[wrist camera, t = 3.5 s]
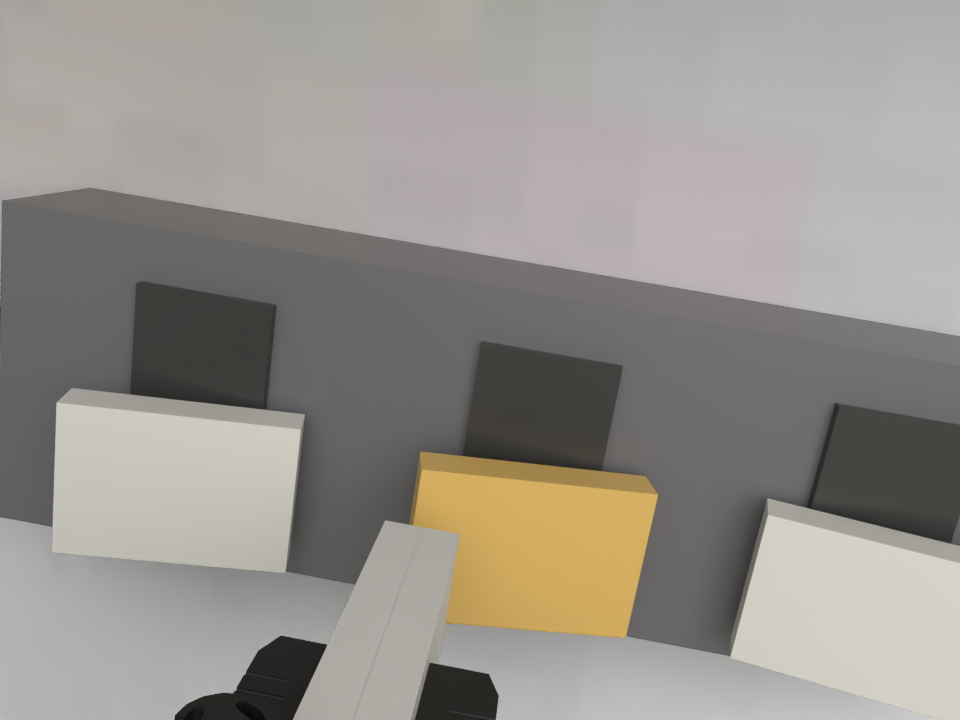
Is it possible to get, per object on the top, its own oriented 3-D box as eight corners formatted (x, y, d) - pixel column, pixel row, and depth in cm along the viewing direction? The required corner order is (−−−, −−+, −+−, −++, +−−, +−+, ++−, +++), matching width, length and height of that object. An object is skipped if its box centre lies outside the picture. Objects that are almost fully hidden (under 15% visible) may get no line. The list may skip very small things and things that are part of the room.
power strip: (-114, 423, 27) (-236, 478, 23) (-120, 152, 25) (-256, 158, 21) (968, 624, 26) (1046, 722, 21) (1061, 354, 23) (1167, 404, 19)
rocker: (731, 636, 22) (730, 658, 21) (767, 498, 21) (768, 514, 20) (965, 703, 20) (975, 729, 19) (1015, 560, 19) (1028, 580, 18)
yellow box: (398, 594, 21) (399, 619, 20) (420, 451, 20) (421, 469, 19) (615, 614, 22) (625, 638, 21) (645, 476, 21) (658, 494, 20)
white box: (66, 532, 21) (51, 552, 20) (71, 387, 20) (56, 402, 20) (289, 552, 22) (285, 573, 21) (305, 414, 21) (301, 429, 20)
